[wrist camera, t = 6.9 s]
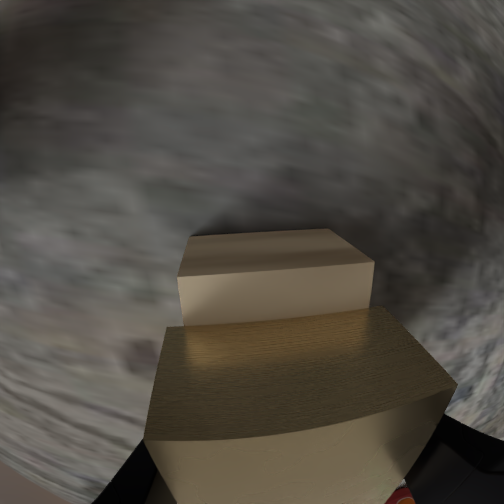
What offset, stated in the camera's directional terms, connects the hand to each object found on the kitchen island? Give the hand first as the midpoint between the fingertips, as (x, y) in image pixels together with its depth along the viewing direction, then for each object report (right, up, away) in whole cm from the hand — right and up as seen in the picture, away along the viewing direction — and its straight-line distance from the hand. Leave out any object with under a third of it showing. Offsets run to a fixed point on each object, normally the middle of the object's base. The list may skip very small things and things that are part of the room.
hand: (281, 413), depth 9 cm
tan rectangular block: (0, 0, +1) cm, 0 cm away
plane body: (0, -4, +6) cm, 8 cm away
